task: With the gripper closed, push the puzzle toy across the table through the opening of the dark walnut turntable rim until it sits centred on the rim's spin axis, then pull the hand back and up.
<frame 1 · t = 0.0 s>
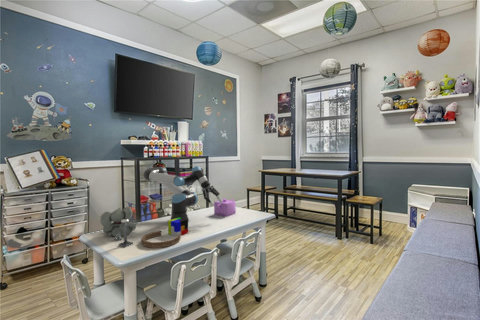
hand: (217, 203, 215), 15 cm above the table, tool tilted 35°, fingers open, 13 cm apart
turntable rim: (159, 239, 171), point 2 cm above the table, hinge at 0.0°
plush elephant: (119, 235, 187), on the table
dial gauge stand: (125, 245, 166), on the table
puzzle toy: (178, 233, 188), on the table
purple lidded box: (225, 213, 244), on the table
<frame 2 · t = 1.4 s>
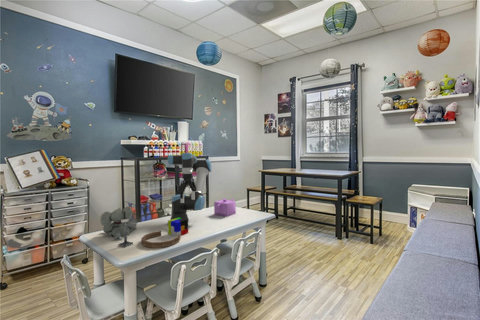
hand: (187, 201, 197), 22 cm above the table, tool pointing down, fingers open, 13 cm apart
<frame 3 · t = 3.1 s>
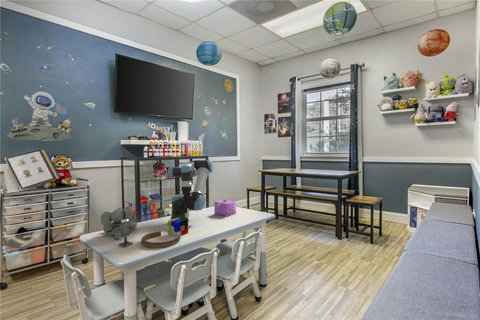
hand: (186, 217, 196), 10 cm above the table, tool pointing down, fingers closed
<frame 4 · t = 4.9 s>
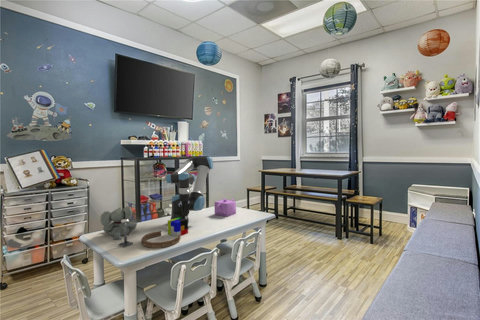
hand: (184, 224, 194), 5 cm above the table, tool pointing down, fingers closed
puzzle toy: (178, 233, 188), on the table, touching gripper
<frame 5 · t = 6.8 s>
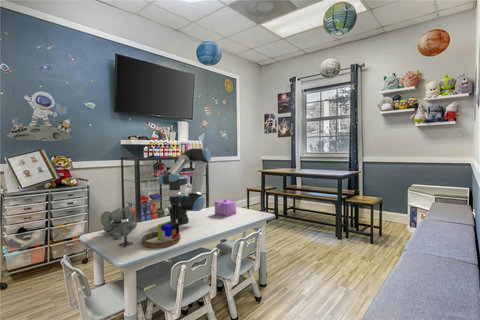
hand: (175, 228, 185), 5 cm above the table, tool pointing down, fingers closed
puzzle toy: (168, 238, 178), on the table, touching gripper
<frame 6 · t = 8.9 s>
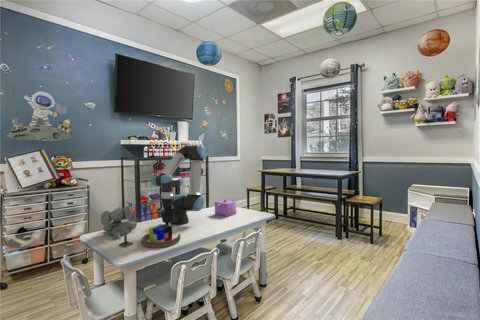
hand: (168, 231, 178), 4 cm above the table, tool pointing down, fingers closed
puzzle toy: (161, 242, 171), on the table, touching gripper
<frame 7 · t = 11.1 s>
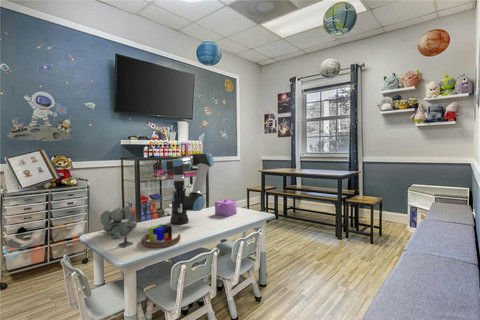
hand: (180, 212, 190), 15 cm above the table, tool pointing down, fingers closed
puzzle toy: (161, 242, 171), on the table
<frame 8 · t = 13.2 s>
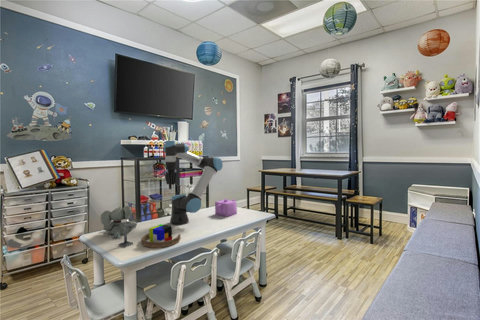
hand: (171, 193, 193), 28 cm above the table, tool pointing down, fingers closed
at the end: puzzle toy 1.4 cm off-centre on the turntable rim, point 0.0 cm above the turntable rim's base; puzzle toy tilted 0° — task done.
